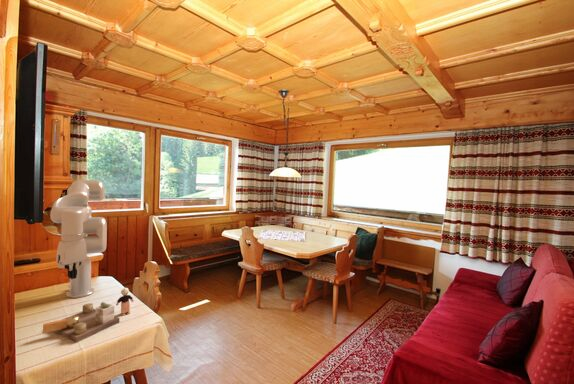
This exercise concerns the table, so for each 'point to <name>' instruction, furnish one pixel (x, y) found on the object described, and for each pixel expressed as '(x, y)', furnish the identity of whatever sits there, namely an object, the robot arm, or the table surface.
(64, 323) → the orange lever bar
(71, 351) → the table surface
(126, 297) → the grandmother figurine
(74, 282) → the robot arm
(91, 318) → the base
